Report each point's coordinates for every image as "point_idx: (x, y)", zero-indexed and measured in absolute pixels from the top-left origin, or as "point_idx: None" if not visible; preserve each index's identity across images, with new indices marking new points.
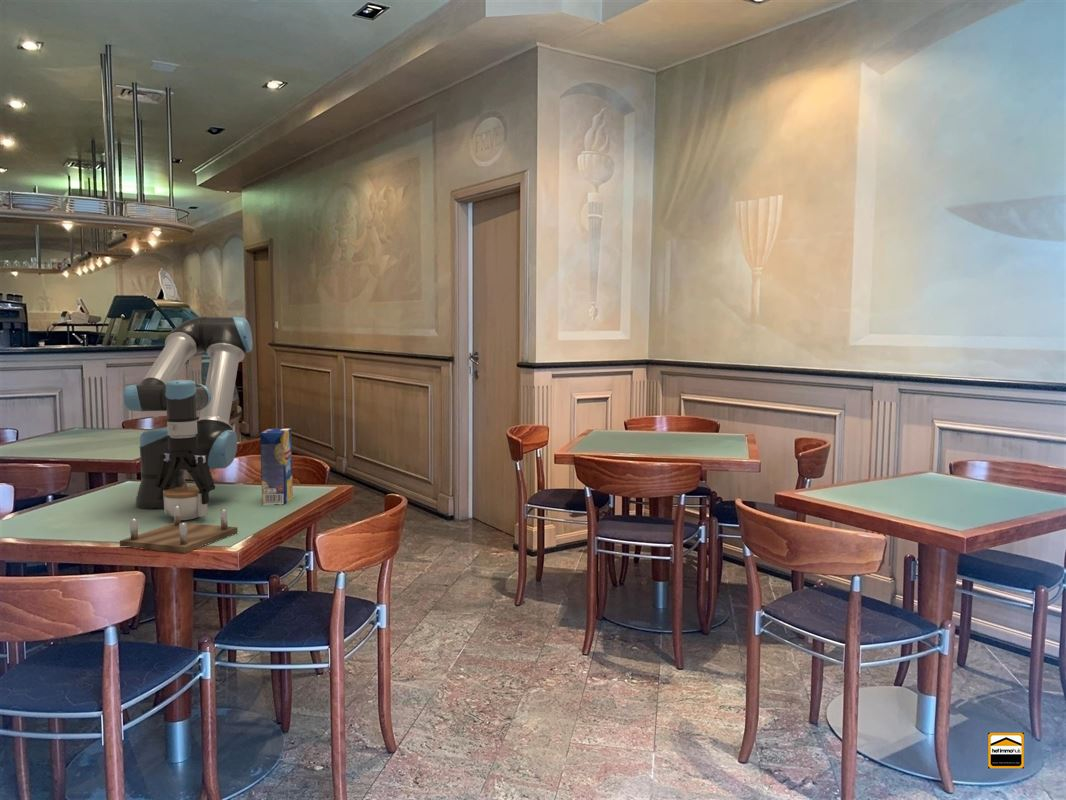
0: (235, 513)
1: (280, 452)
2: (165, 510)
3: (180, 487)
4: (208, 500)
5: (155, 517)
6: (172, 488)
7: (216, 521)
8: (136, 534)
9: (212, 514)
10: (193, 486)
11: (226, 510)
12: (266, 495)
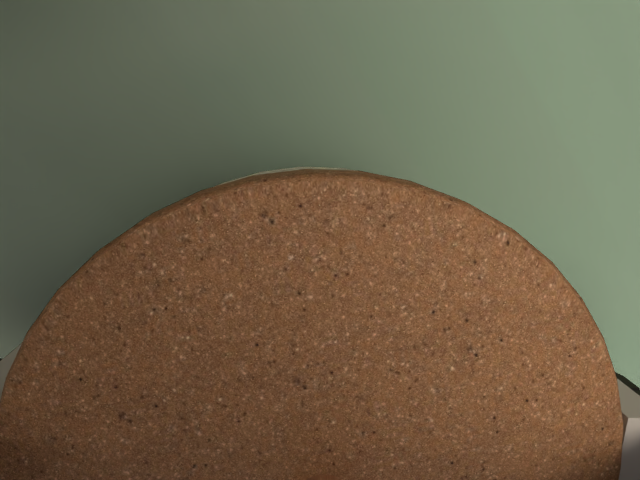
0: (617, 28)
1: None
2: None
3: (102, 377)
4: (630, 388)
5: (10, 340)
6: (8, 454)
7: (595, 321)
8: None
9: (429, 118)
10: (264, 222)
11: None
12: None
